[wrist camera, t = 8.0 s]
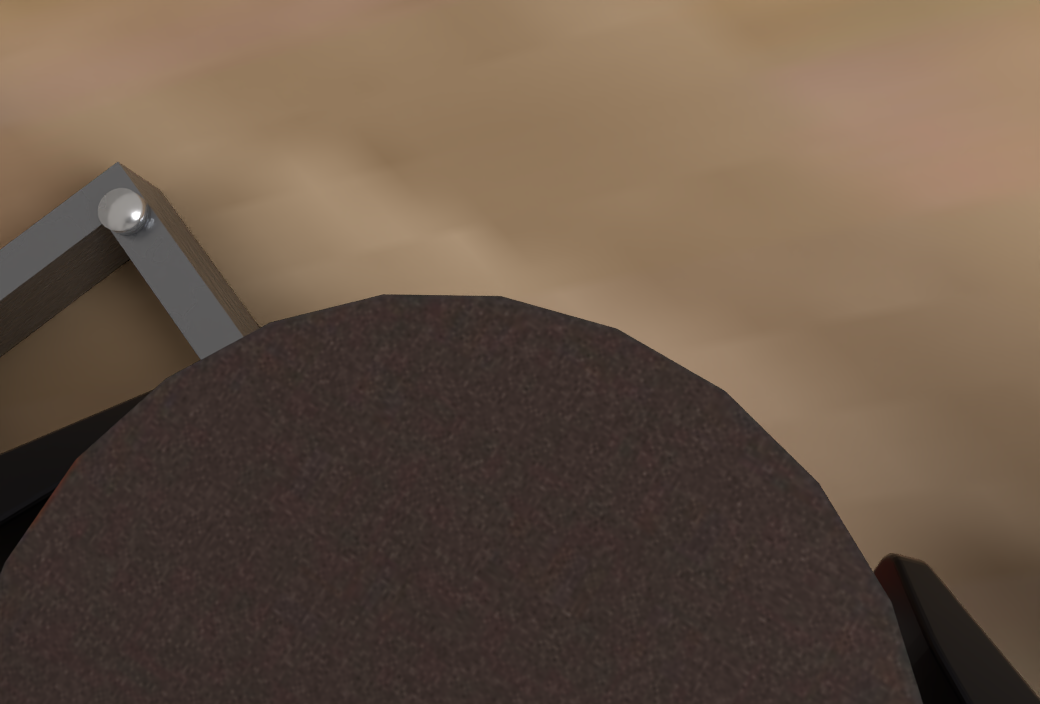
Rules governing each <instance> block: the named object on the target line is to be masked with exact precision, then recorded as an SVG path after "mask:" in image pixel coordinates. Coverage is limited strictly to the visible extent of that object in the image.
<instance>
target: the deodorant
mask: <svg viewBox="0 0 1040 704" xmlns="http://www.w3.org/2000/svg"><path fill="white" fill-rule="evenodd" d="M0 704H923V702H922V699H921V696H920V692H919V689H918V686H917V683H916V680H915V676H914V673H913V670H912V667H911V663H910V660H909V657H908V654H907V651H906V647H905V644H904V641H903V638H902V635H901V631H900V628H899V625H898V622H897V619H896V615H895V612H894V609H893V606H892V603H891V601H890V599H889V597H888V596H887V594H886V592H885V591H884V589H883V587H882V586H881V584H880V583H879V581H878V579H877V578H876V576H875V574H874V573H873V571H872V569H871V568H870V566H869V564H868V563H867V561H866V560H865V558H864V556H863V555H862V553H861V551H860V550H859V548H858V546H857V545H856V543H855V542H854V540H853V538H852V537H851V535H850V533H849V532H848V530H847V528H846V527H845V525H844V524H843V522H842V520H841V519H840V517H839V515H838V514H837V512H836V510H835V509H834V507H833V506H832V504H831V502H830V501H829V499H828V497H827V496H826V494H825V492H824V491H823V489H822V488H821V486H820V484H819V483H818V482H817V481H816V480H815V479H814V478H813V477H812V476H811V475H810V474H809V473H808V472H807V471H806V470H805V469H804V468H803V467H802V466H801V465H800V464H799V463H798V462H797V461H796V460H795V459H794V458H793V457H792V456H791V455H790V454H789V453H788V452H787V451H786V450H785V449H784V448H782V447H781V446H780V445H779V444H778V443H777V442H776V441H775V440H774V439H773V438H772V437H771V436H770V435H769V434H768V433H767V432H766V431H765V430H764V429H763V428H762V427H761V426H760V425H759V424H758V423H757V422H756V421H755V420H754V419H753V418H752V417H751V416H750V415H749V414H748V413H747V412H746V411H745V410H744V409H743V408H742V407H741V406H740V405H739V404H738V403H737V402H736V401H735V400H734V399H733V398H732V397H731V396H730V395H728V394H727V393H726V392H725V391H724V390H722V389H721V388H719V387H717V386H715V385H714V384H712V383H710V382H708V381H707V380H705V379H703V378H701V377H700V376H698V375H696V374H695V373H693V372H691V371H689V370H688V369H686V368H684V367H682V366H681V365H679V364H677V363H675V362H674V361H672V360H670V359H668V358H667V357H665V356H663V355H662V354H660V353H658V352H656V351H655V350H653V349H651V348H649V347H648V346H646V345H644V344H642V343H641V342H639V341H637V340H636V339H634V338H632V337H630V336H629V335H627V334H625V333H623V332H622V331H620V330H618V329H616V328H612V327H609V326H605V325H602V324H598V323H595V322H591V321H587V320H584V319H580V318H577V317H573V316H570V315H566V314H562V313H559V312H555V311H552V310H548V309H545V308H541V307H537V306H534V305H530V304H527V303H523V302H520V301H516V300H512V299H509V298H505V297H502V296H451V295H385V294H383V295H379V296H375V297H371V298H367V299H363V300H359V301H355V302H351V303H347V304H343V305H339V306H335V307H331V308H327V309H323V310H319V311H315V312H311V313H307V314H303V315H299V316H295V317H291V318H287V319H282V320H278V321H274V322H270V323H268V324H266V325H265V326H263V327H261V328H259V329H257V330H255V331H253V332H252V333H250V334H248V335H246V336H244V337H242V338H240V339H239V340H237V341H235V342H233V343H231V344H229V345H227V346H226V347H224V348H222V349H220V350H218V351H216V352H214V353H213V354H211V355H209V356H207V357H205V358H203V359H201V360H200V361H198V362H196V363H194V364H192V365H190V366H188V367H187V368H185V369H183V370H181V371H179V372H177V373H175V374H174V375H172V376H170V377H168V378H166V379H165V380H164V381H163V382H162V383H161V384H159V385H158V386H157V387H156V388H155V389H154V390H153V391H152V392H150V393H149V394H148V395H147V396H146V397H145V398H144V399H143V400H142V401H140V402H139V403H138V404H137V405H136V406H135V407H134V408H133V409H132V410H130V411H129V412H128V413H127V414H126V415H125V416H124V417H123V418H121V419H120V420H119V421H118V422H117V423H116V424H115V425H114V426H113V427H111V428H110V429H109V430H108V431H107V432H106V433H105V434H104V435H103V436H101V437H100V438H99V439H98V440H97V441H96V442H95V443H94V444H92V445H91V446H90V447H89V448H88V449H87V450H86V451H85V452H84V453H82V454H81V455H80V456H79V457H78V458H77V459H76V460H75V461H74V463H73V464H72V466H71V467H70V469H69V470H68V472H67V473H66V475H65V476H64V477H63V479H62V480H61V482H60V483H59V485H58V486H57V488H56V489H55V490H54V492H53V493H52V495H51V496H50V498H49V499H48V501H47V502H46V504H45V505H44V506H43V508H42V509H41V511H40V512H39V514H38V515H37V517H36V518H35V520H34V521H33V522H32V524H31V525H30V527H29V528H28V530H27V531H26V533H25V534H24V536H23V537H22V538H21V540H20V541H19V543H18V544H17V546H16V547H15V549H14V550H13V551H12V553H11V554H10V556H9V557H8V559H7V560H6V562H5V563H4V566H3V569H2V571H1V574H0Z"/></svg>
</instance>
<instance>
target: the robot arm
mask: <svg viewBox="0 0 1040 704" xmlns="http://www.w3.org/2000/svg"><path fill="white" fill-rule="evenodd" d="M152 391H153V390H151V391H149V392H147V393H144V394H142V395H139V396H137V397H135V398H132V399H130V400H128V401H125V402H123V403H120V404H118V405H116V406H113V407H111V408H109V409H106V410H104V411H101V412H99V413H97V414H94V415H92V416H90V417H87V418H85V419H82V420H80V421H78V422H75V423H73V424H71V425H68V426H66V427H63V428H61V429H59V430H56V431H54V432H52V433H49V434H47V435H45V436H42V437H40V438H37V439H35V440H33V441H30V442H28V443H26V444H23V445H21V446H18V447H16V448H14V449H11V450H9V451H7V452H4V453H2V454H0V574H1V571H2V569H3V566H4V563H5V562H6V560H7V559H8V557H9V556H10V554H11V553H12V551H13V550H14V549H15V547H16V546H17V544H18V543H19V541H20V540H21V538H22V537H23V536H24V534H25V533H26V531H27V530H28V528H29V527H30V525H31V524H32V522H33V521H34V520H35V518H36V517H37V515H38V514H39V512H40V511H41V509H42V508H43V506H44V505H45V504H46V502H47V501H48V499H49V498H50V496H51V495H52V493H53V492H54V490H55V489H56V488H57V486H58V485H59V483H60V482H61V480H62V479H63V477H64V476H65V475H66V473H67V472H68V470H69V469H70V467H71V466H72V464H73V463H74V461H75V460H76V459H77V458H78V457H79V456H80V455H81V454H82V453H84V452H85V451H86V450H87V449H88V448H89V447H90V446H91V445H92V444H94V443H95V442H96V441H97V440H98V439H99V438H100V437H101V436H103V435H104V434H105V433H106V432H107V431H108V430H109V429H110V428H111V427H113V426H114V425H115V424H116V423H117V422H118V421H119V420H120V419H121V418H123V417H124V416H125V415H126V414H127V413H128V412H129V411H130V410H132V409H133V408H134V407H135V406H136V405H137V404H138V403H139V402H140V401H142V400H143V399H144V398H145V397H146V396H147V395H148V394H149V393H150V392H152ZM873 573H874V574H875V576H876V578H877V579H878V581H879V583H880V584H881V586H882V587H883V589H884V591H885V592H886V594H887V596H888V597H889V599H890V601H891V603H892V606H893V609H894V612H895V615H896V619H897V622H898V625H899V628H900V631H901V635H902V638H903V641H904V644H905V647H906V651H907V654H908V657H909V660H910V663H911V667H912V670H913V673H914V676H915V680H916V683H917V686H918V689H919V692H920V696H921V699H922V702H923V704H1040V698H1039V697H1038V696H1037V695H1036V694H1035V692H1034V691H1033V690H1032V689H1031V688H1030V686H1029V685H1028V684H1027V683H1026V682H1025V680H1024V679H1023V678H1022V677H1021V676H1020V674H1019V673H1018V672H1017V671H1016V669H1015V668H1014V667H1013V666H1012V665H1011V663H1010V662H1009V661H1008V660H1007V659H1006V657H1005V656H1004V655H1003V654H1002V653H1001V651H1000V650H999V649H998V648H997V647H996V645H995V644H994V643H993V642H992V641H991V639H990V638H989V637H988V636H987V635H986V633H985V632H984V631H983V630H982V629H981V627H980V626H979V625H978V624H977V623H976V621H975V620H974V619H973V618H972V617H971V615H970V614H969V613H968V612H967V611H966V609H965V608H964V607H963V606H962V605H961V603H960V602H959V601H958V600H957V599H956V597H955V596H954V595H953V594H952V593H951V591H950V590H949V589H948V588H947V587H946V585H945V584H944V583H943V582H942V581H941V579H940V578H939V577H938V576H937V575H936V573H935V572H934V571H933V570H932V569H931V567H930V566H929V565H928V564H926V563H925V562H923V561H921V560H919V559H915V558H911V557H907V556H903V555H899V554H895V553H890V554H888V555H886V556H885V557H884V558H883V559H882V560H881V561H880V563H879V564H878V566H877V567H876V568H875V570H874V571H873Z"/></svg>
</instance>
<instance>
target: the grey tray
mask: <svg viewBox="0 0 1040 704" xmlns="http://www.w3.org/2000/svg"><path fill="white" fill-rule="evenodd" d="M129 259H131V261H132V262H133V263H134V265H135V266H136V268H137V269H138V271H139V272H140V273H141V275H142V276H143V278H144V279H145V281H146V282H147V283H148V285H149V286H150V288H151V289H152V291H153V292H154V293H155V295H156V296H157V298H158V299H159V301H160V302H161V303H162V305H163V306H164V308H165V309H166V311H167V312H168V313H169V315H170V316H171V318H172V319H173V321H174V322H175V324H176V325H177V326H178V328H179V329H180V331H181V332H182V334H183V335H184V336H185V338H186V339H187V341H188V342H189V344H190V345H191V346H192V348H193V349H194V351H195V352H196V354H197V355H198V356H199V358H200V359H203V358H205V357H207V356H209V355H211V354H213V353H214V352H216V351H218V350H220V349H222V348H224V347H226V346H227V345H229V344H231V343H233V342H235V341H237V340H239V339H240V338H242V337H244V336H246V335H248V334H250V333H252V332H253V331H255V330H257V329H259V328H260V327H259V326H258V325H257V323H256V322H255V321H254V319H253V318H252V316H251V315H250V314H249V312H248V311H247V309H246V308H245V307H244V305H243V304H242V303H241V301H240V300H239V298H238V297H237V296H236V294H235V293H234V292H233V290H232V289H231V287H230V286H229V285H228V283H227V282H226V280H225V279H224V278H223V276H222V275H221V274H220V272H219V271H218V269H217V268H216V267H215V265H214V264H213V263H212V261H211V260H210V258H209V257H208V256H207V254H206V253H205V251H204V250H203V249H202V247H201V246H200V245H199V243H198V242H197V240H196V239H195V238H194V236H193V235H192V234H191V232H190V231H189V229H188V228H187V227H186V225H185V224H184V222H183V221H182V220H181V218H180V217H179V216H178V214H177V213H176V211H175V210H174V209H173V207H172V206H171V205H170V203H169V202H168V200H167V199H166V198H165V196H164V195H163V193H162V192H161V191H160V190H159V189H158V188H156V187H155V186H154V185H152V184H151V183H149V182H148V181H146V180H145V179H143V178H142V177H140V176H139V175H137V174H136V173H134V172H133V171H131V170H130V169H128V168H127V167H125V166H124V165H122V164H121V163H119V162H117V163H115V164H114V165H113V166H111V167H110V168H109V169H107V170H106V171H105V172H103V173H102V174H101V175H99V176H98V177H97V178H95V179H94V180H93V181H91V182H90V183H89V184H87V185H86V186H85V187H83V188H82V189H81V190H79V191H78V192H77V193H75V194H74V195H73V196H71V197H70V198H69V199H67V200H66V201H65V202H63V203H62V204H61V205H59V206H58V207H57V208H55V209H54V210H53V211H51V212H50V213H49V214H47V215H46V216H45V217H43V218H42V219H41V220H39V221H38V222H37V223H35V224H34V225H33V226H31V227H30V228H29V229H27V230H26V231H25V232H23V233H22V234H21V235H19V236H18V237H17V238H15V239H14V240H13V241H11V242H10V243H9V244H7V245H6V246H5V247H3V248H2V249H1V250H0V357H1V356H2V355H3V354H5V353H6V352H7V351H8V350H10V349H11V348H12V347H14V346H15V345H16V344H18V343H19V342H20V341H22V340H23V339H24V338H26V337H27V336H28V335H30V334H31V333H32V332H34V331H35V330H36V329H38V328H39V327H40V326H42V325H43V324H44V323H45V322H47V321H48V320H49V319H51V318H52V317H53V316H55V315H56V314H57V313H59V312H60V311H61V310H63V309H64V308H65V307H67V306H68V305H69V304H71V303H72V302H73V301H75V300H76V299H77V298H79V297H80V296H81V295H82V294H84V293H85V292H86V291H88V290H89V289H90V288H92V287H93V286H94V285H96V284H97V283H98V282H100V281H101V280H102V279H104V278H105V277H106V276H108V275H109V274H110V273H112V272H113V271H114V270H116V269H117V268H118V267H119V266H121V265H122V264H123V263H125V262H126V261H127V260H129Z"/></svg>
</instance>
